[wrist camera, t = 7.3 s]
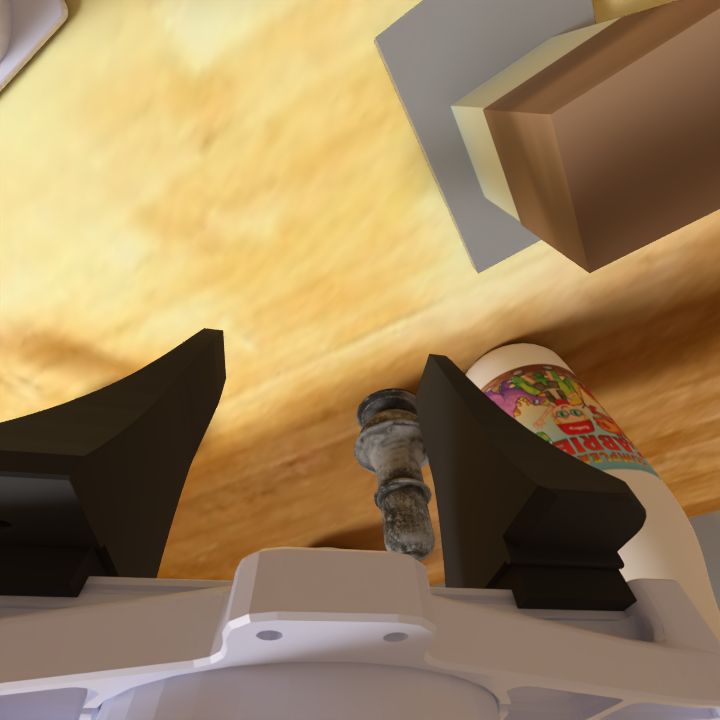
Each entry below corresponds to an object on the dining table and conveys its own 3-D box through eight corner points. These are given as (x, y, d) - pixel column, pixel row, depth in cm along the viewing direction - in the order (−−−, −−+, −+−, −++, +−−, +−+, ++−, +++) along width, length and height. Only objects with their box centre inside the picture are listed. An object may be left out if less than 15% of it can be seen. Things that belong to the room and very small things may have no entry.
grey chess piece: (400, 372, 26) (434, 532, 17) (441, 418, 29) (490, 577, 20) (337, 411, 28) (334, 574, 19) (381, 450, 31) (399, 610, 21)
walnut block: (482, 109, 12) (550, 114, 8) (621, 16, 11) (779, -30, 7) (521, 225, 15) (589, 273, 11) (640, 159, 14) (768, 184, 9)
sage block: (450, 105, 17) (485, 108, 12) (550, 37, 15) (625, 15, 11) (484, 197, 19) (524, 224, 15) (573, 144, 18) (643, 157, 14)
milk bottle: (564, 403, 29) (852, 797, 13) (468, 430, 30) (614, 817, 14) (558, 324, 25) (981, 764, 8) (446, 360, 26) (620, 798, 10)
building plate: (373, 40, 16) (375, 37, 15) (559, -105, 14) (572, -118, 13) (473, 266, 22) (478, 273, 21) (612, 191, 20) (623, 195, 19)
